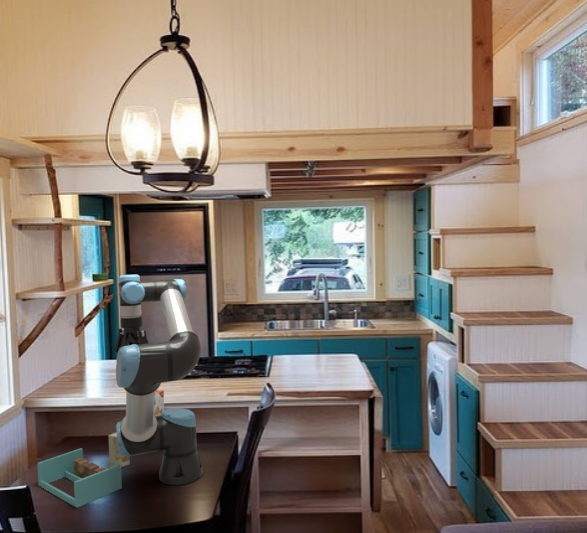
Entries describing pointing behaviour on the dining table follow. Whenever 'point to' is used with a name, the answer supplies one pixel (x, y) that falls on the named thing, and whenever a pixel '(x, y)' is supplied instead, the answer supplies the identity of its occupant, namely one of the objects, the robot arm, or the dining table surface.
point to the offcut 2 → (99, 470)
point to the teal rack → (78, 479)
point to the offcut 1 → (79, 467)
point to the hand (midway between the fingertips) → (133, 373)
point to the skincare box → (116, 453)
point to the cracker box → (158, 402)
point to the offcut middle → (89, 469)
